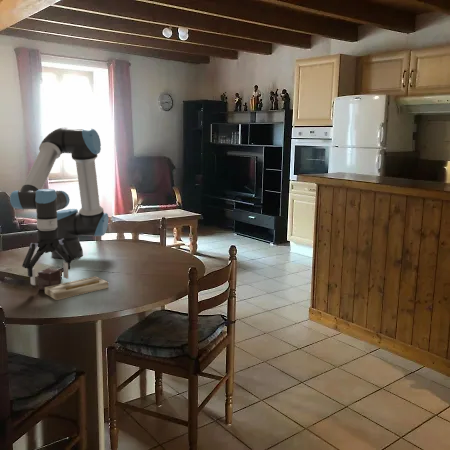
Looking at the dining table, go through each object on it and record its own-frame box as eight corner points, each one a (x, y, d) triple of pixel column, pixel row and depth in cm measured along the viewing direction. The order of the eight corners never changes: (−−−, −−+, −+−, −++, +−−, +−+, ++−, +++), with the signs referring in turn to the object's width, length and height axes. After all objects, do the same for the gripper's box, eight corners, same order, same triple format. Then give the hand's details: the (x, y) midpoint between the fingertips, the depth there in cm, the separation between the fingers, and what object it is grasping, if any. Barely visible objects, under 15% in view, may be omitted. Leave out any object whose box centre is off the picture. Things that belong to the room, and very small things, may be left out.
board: (44, 293, 185) (44, 285, 185) (95, 281, 200) (95, 274, 200) (56, 300, 178) (55, 291, 178) (108, 287, 193) (108, 280, 193)
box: (61, 287, 193) (60, 269, 192) (50, 291, 188) (49, 273, 186) (49, 285, 195) (48, 268, 194) (38, 289, 190) (37, 271, 188)
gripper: (18, 234, 174) (22, 289, 178) (81, 226, 192) (83, 277, 196) (11, 231, 180) (14, 285, 184) (72, 223, 197) (74, 273, 201)
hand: (50, 281), depth 190 cm, fingers open, 13 cm apart
